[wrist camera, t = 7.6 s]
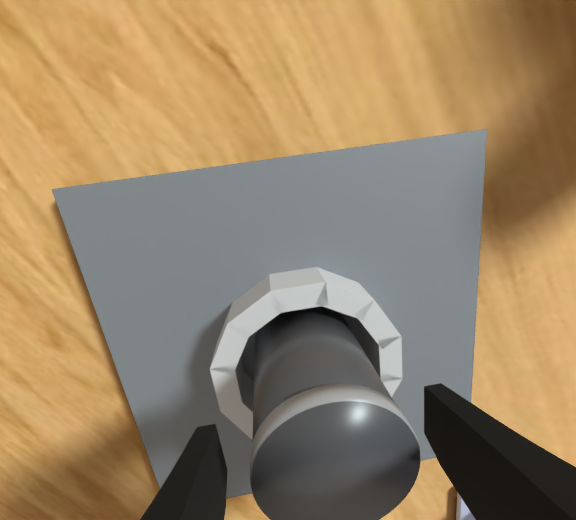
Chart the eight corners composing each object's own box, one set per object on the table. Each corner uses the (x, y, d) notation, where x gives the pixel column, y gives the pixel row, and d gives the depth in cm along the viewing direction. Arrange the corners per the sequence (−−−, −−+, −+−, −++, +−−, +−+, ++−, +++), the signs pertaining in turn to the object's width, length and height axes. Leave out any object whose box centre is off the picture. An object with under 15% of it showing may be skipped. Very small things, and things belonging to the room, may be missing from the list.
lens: (353, 378, 15) (420, 519, 9) (261, 393, 15) (262, 549, 9) (349, 292, 14) (424, 388, 7) (246, 307, 13) (235, 420, 7)
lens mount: (457, 436, 18) (493, 485, 15) (172, 491, 17) (155, 553, 14) (470, 132, 13) (529, 120, 10) (67, 188, 12) (8, 191, 9)
